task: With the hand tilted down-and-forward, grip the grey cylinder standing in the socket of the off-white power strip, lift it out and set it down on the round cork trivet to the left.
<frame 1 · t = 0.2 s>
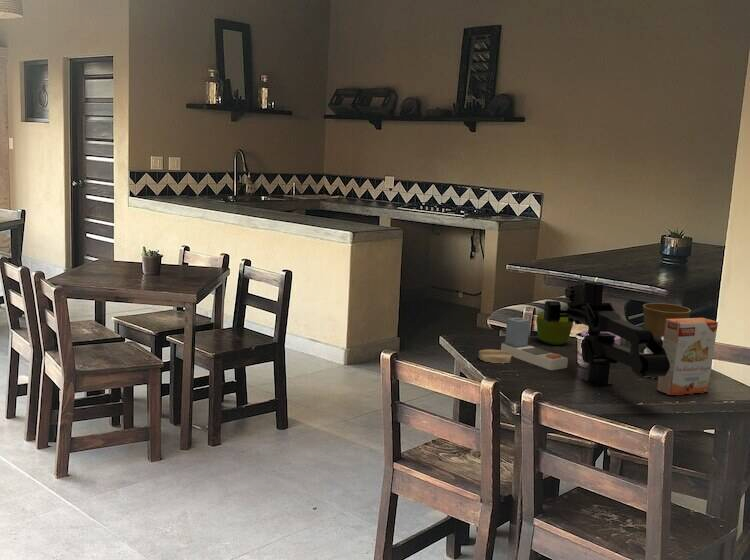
hand: (560, 307, 251), 17 cm above the table, tool horizontal, fingers open, 9 cm apart
apple: (552, 343, 276), on the table
clip: (598, 354, 265), on the table
medicine bottle: (653, 376, 241), on the table
grey cylinder: (516, 344, 257), point 3 cm above the table, touching power strip
power strip: (532, 359, 251), on the table
trivet: (494, 359, 249), on the table
plant pot: (661, 354, 268), on the table
cracker box: (682, 393, 225), on the table
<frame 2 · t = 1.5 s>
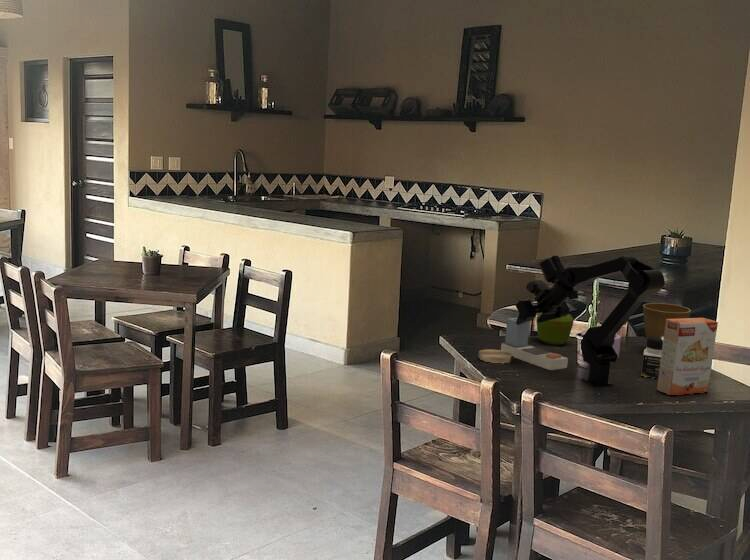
hand: (527, 322, 252), 11 cm above the table, tool tilted 45°, fingers open, 9 cm apart
nothing on the table moved.
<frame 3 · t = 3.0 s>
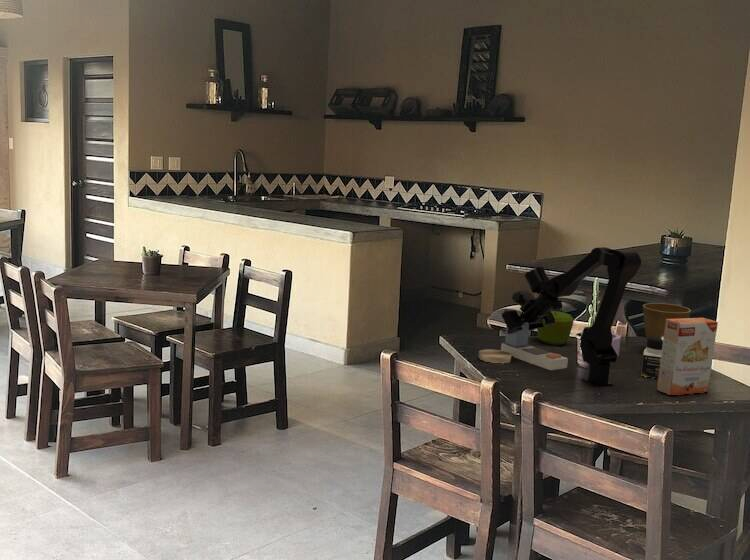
hand: (514, 332, 258), 7 cm above the table, tool tilted 45°, fingers closed on grey cylinder, 5 cm apart
grey cylinder: (516, 344, 257), point 3 cm above the table, touching gripper, power strip
everything else where it was.
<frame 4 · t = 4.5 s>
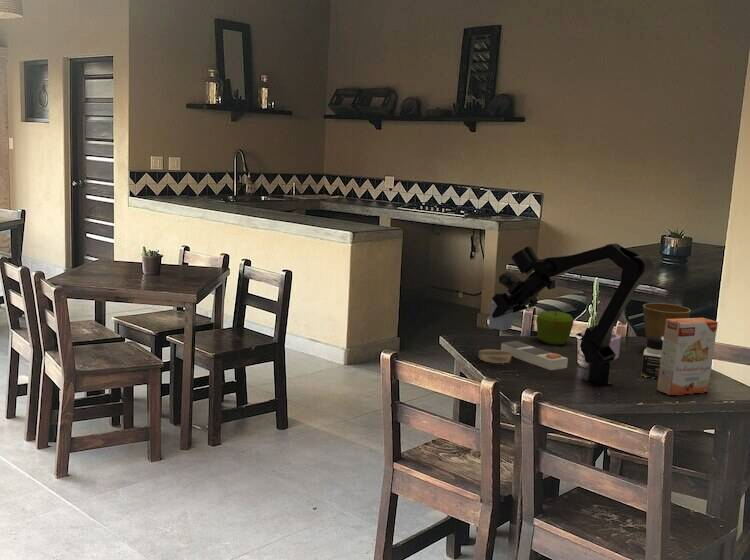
hand: (497, 315, 249), 13 cm above the table, tool tilted 45°, fingers closed on grey cylinder, 5 cm apart
grey cylinder: (500, 327, 249), point 10 cm above the table, touching gripper
everything else where it was.
when the fingers open (7 cm above the table, at t = 6.3 s): grey cylinder drops 1 cm, resting on trivet.
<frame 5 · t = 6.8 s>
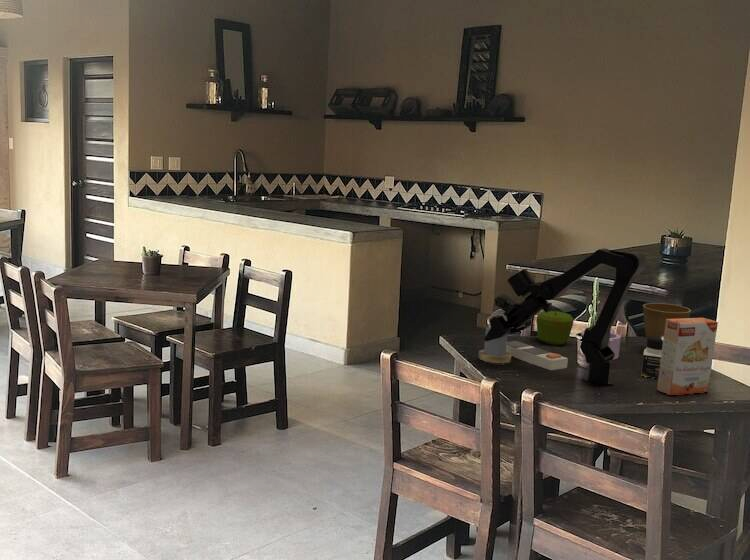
hand: (492, 337, 248), 7 cm above the table, tool tilted 45°, fingers open, 9 cm apart
grey cylinder: (494, 353, 248), point 2 cm above the table, touching trivet
everything else where it was.
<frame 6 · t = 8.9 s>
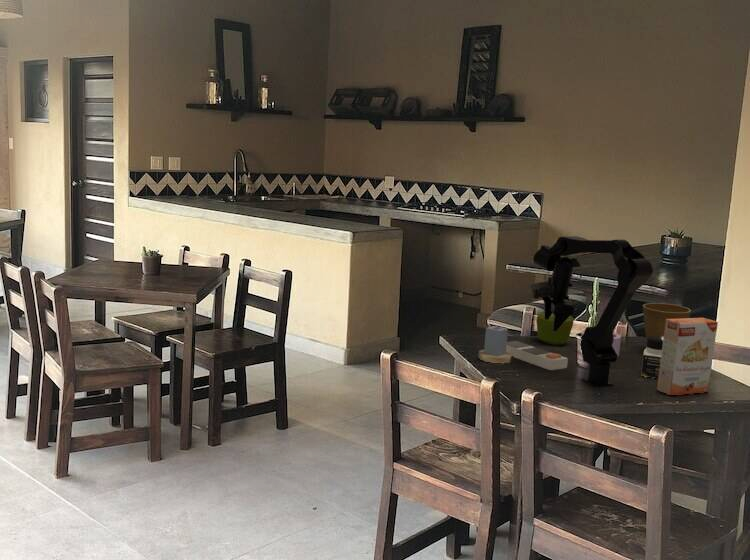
hand: (550, 324, 245), 12 cm above the table, tool pointing down, fingers open, 9 cm apart
nothing on the table moved.
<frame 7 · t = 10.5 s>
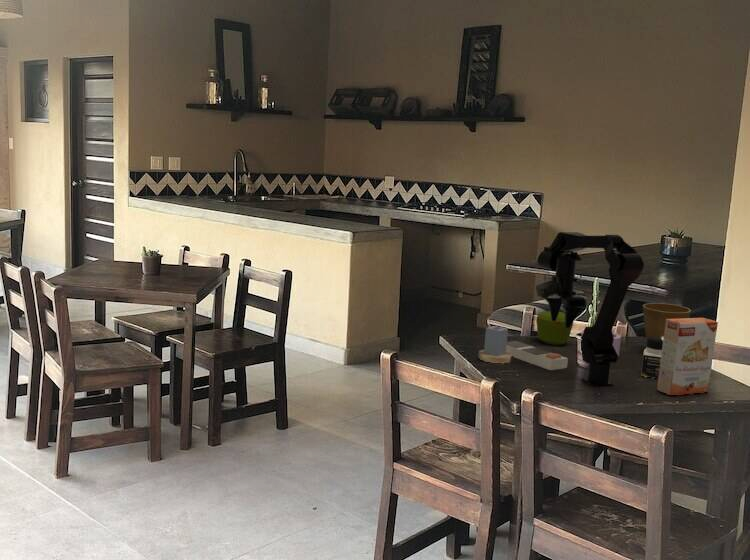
hand: (560, 324, 244), 13 cm above the table, tool pointing down, fingers open, 9 cm apart
nothing on the table moved.
at the end: grey cylinder inside the target area on the trivet (0.0 cm from its centre), point 2.0 cm above the trivet's base; grey cylinder tilted 0°; the gripper is holding nothing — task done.
